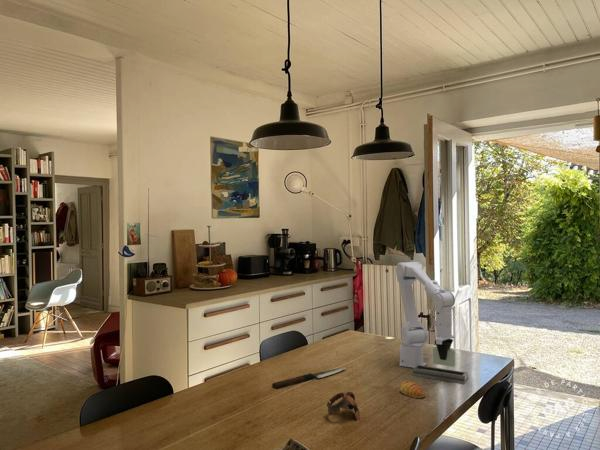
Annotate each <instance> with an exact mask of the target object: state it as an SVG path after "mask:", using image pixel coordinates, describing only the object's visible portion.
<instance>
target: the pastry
mask: <svg viewBox="0 0 600 450" xmlns="http://www.w3.org/2000/svg"><path fill="white" fill-rule="evenodd" d="M399 391H400V392H401V393H402V394H403V395H405V396H408V397H409V398H410V397H411V398H413V399H421V398H424V397H425V396H426V391H425V390H424V388H422V386H420V385H419V384H418V383H416V382H413V381H412V382H411V381H410V380H404V382H402V383H401V384H400V387H399Z"/></svg>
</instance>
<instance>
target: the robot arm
mask: <svg viewBox="0 0 600 450" xmlns="http://www.w3.org/2000/svg"><path fill="white" fill-rule="evenodd" d="M395 274H396V279H397V282H398V283H399V290H400V295H401V301H402V307H403V313H404V318H405V323H404V324H403V325H402V326H401V328H400V330H401V334H400V335H401V336H400V338H401V342H403V343H400V346H399V364H398V365H399V366H400V367H406V368H412V369H413V368H414V367H415V366H416V365H422V366H427V363H426V362H424V346H425V343H426V342H427V341H428V333H427V331H426V329H425V324H424V323H422V322H421V321H419V318H418V311H417V306H416V301H415V295H414V290H413V286H412V285H413V283H415V282H416V281H418V282H420V283H421V284H422V285H423V286H424V289H423V290H424V291H425V292H426V294H427V295H429V297H430V298H431V299H432V304H433V306H434V311H435V322H436V323H435V340H434V345H435V347H437V349H438V352H439V357H440V359H441V360H446V358H447V352H448V349H451V346H452V344H453V342H454V339H455V338H456V336H455V335H453V333H452V330H453V329H452V322H453V319H452V315H453V314H452V312H453V311H452V310H453V309H452V307H454V306H455V303H456V299H455V295H454V294H453V292H452V291H447V290H446V289H444V288H443V287H442V286H441V285H440V284H439V283H438V281H437V280H434V279H433V280H431V278H430V277H429V276H428V274H427V273H426V272H425V271H424V267H423V265H422V264H421V262H419V261H408V262H406V261H405V262H403V261H402V262H397V264H396V267H395Z"/></svg>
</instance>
